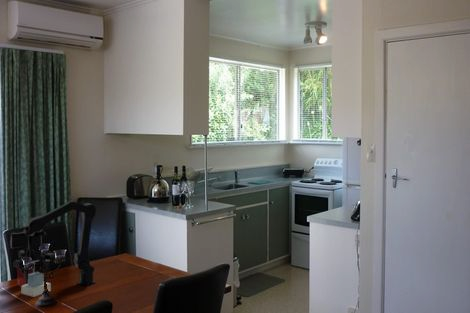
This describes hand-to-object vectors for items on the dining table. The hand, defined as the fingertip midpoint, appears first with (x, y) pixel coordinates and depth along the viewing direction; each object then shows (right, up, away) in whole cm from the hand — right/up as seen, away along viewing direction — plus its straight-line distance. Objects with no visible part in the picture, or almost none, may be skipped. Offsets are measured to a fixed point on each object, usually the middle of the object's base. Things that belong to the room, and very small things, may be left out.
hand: (36, 278), depth 214 cm
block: (0, -3, 0) cm, 3 cm away
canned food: (-9, -6, +11) cm, 15 cm away
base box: (0, -7, 0) cm, 7 cm away
